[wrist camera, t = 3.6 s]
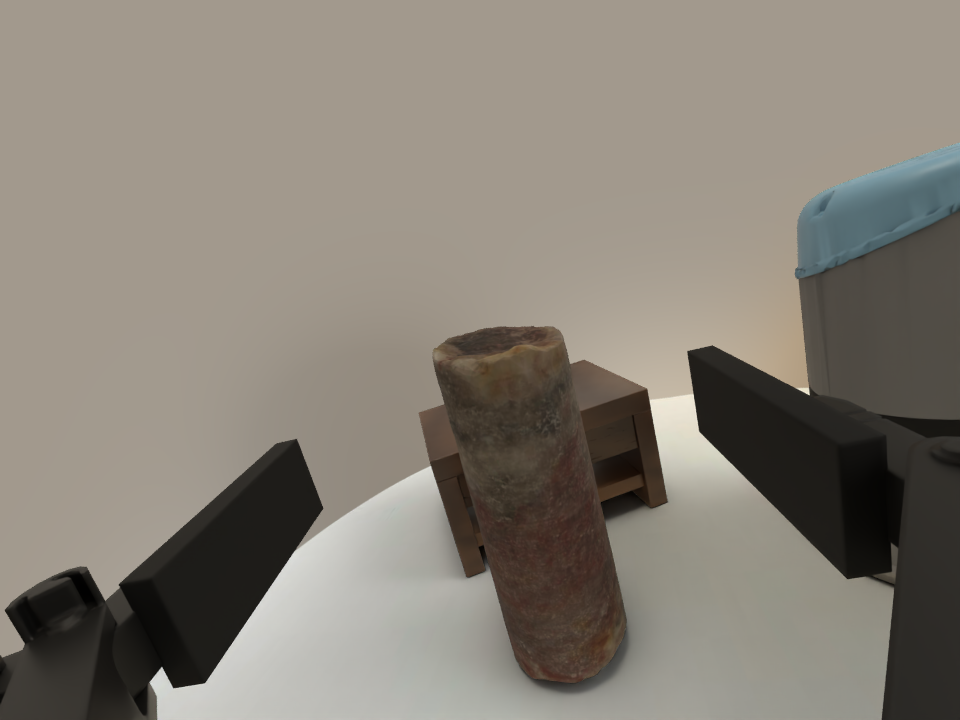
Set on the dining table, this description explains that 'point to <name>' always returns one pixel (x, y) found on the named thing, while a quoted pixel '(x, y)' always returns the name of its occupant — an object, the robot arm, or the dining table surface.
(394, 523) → the dining table surface
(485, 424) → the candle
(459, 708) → the dining table surface
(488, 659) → the dining table surface
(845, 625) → the dining table surface
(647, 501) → the shelf
